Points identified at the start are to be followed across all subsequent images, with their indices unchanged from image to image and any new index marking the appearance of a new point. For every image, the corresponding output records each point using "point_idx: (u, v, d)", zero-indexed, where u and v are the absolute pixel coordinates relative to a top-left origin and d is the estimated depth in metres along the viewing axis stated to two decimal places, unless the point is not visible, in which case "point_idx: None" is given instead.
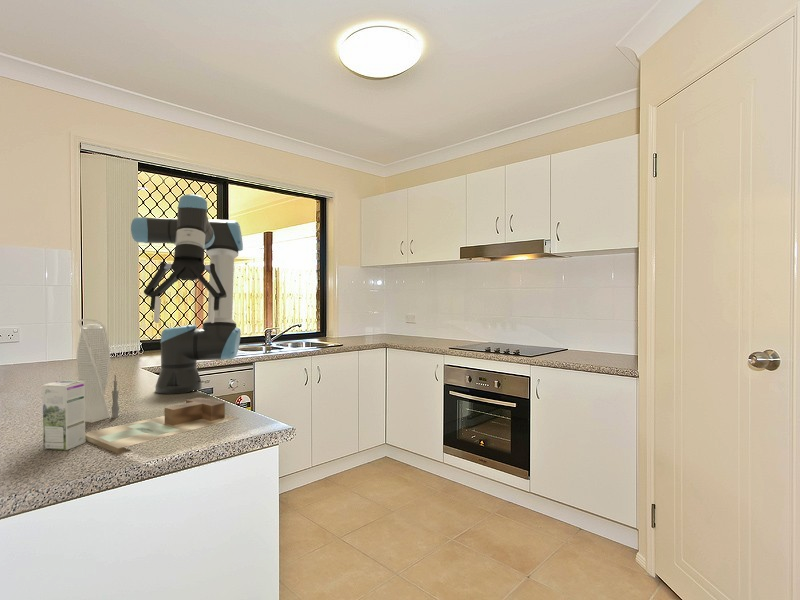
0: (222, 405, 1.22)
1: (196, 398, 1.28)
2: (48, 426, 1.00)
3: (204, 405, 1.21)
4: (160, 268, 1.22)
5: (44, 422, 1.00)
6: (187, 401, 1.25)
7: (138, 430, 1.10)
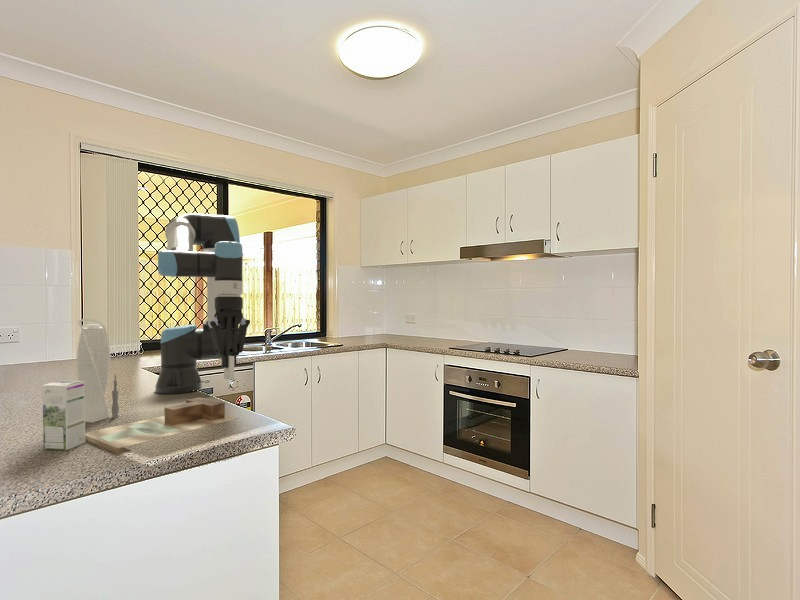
0: (222, 405, 1.22)
1: (196, 398, 1.28)
2: (48, 426, 1.00)
3: (204, 405, 1.21)
4: (215, 328, 1.25)
5: (44, 422, 1.00)
6: (187, 401, 1.25)
7: (138, 430, 1.10)
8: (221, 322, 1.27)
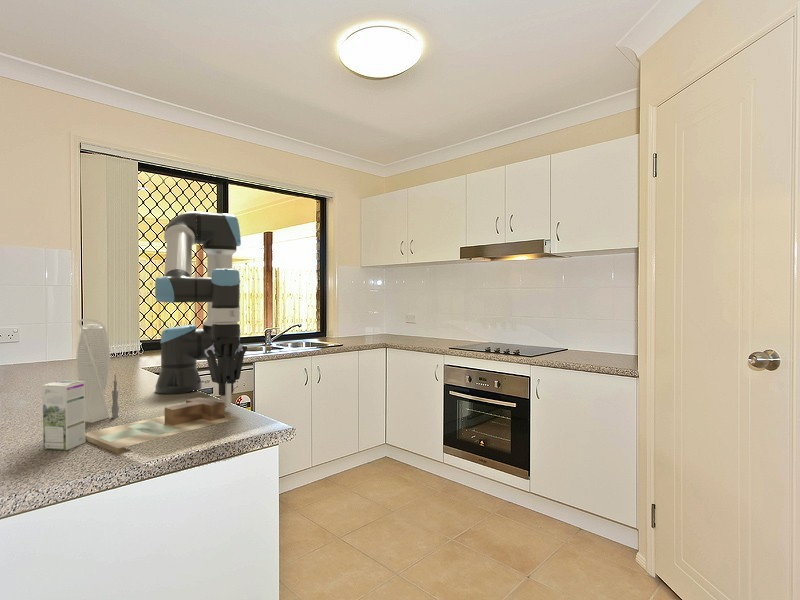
0: (222, 405, 1.22)
1: (196, 398, 1.28)
2: (48, 426, 1.00)
3: (204, 405, 1.21)
4: (212, 356, 1.24)
5: (44, 422, 1.00)
6: (187, 401, 1.25)
7: (138, 430, 1.10)
8: (218, 350, 1.26)
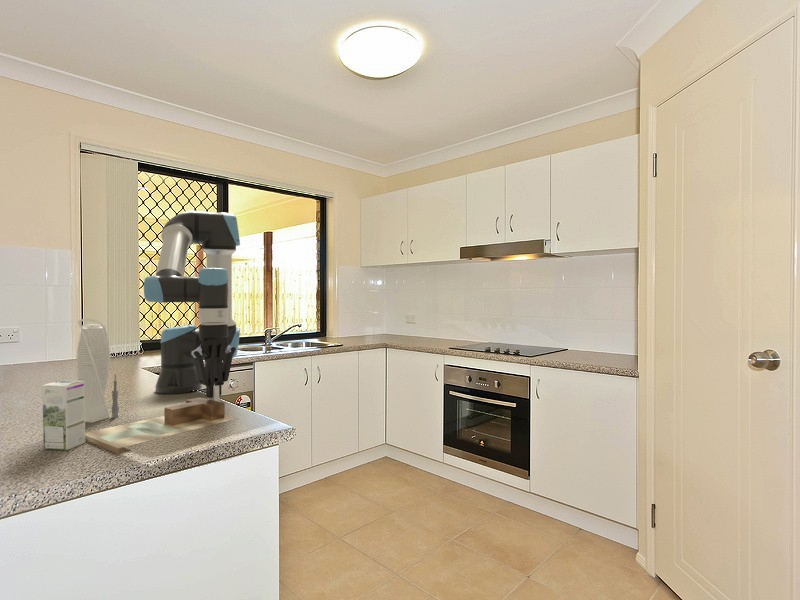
0: (222, 405, 1.22)
1: (196, 398, 1.28)
2: (48, 426, 1.00)
3: (204, 405, 1.21)
4: (199, 358, 1.21)
5: (44, 422, 1.00)
6: (187, 401, 1.25)
7: (138, 430, 1.10)
8: (205, 351, 1.23)
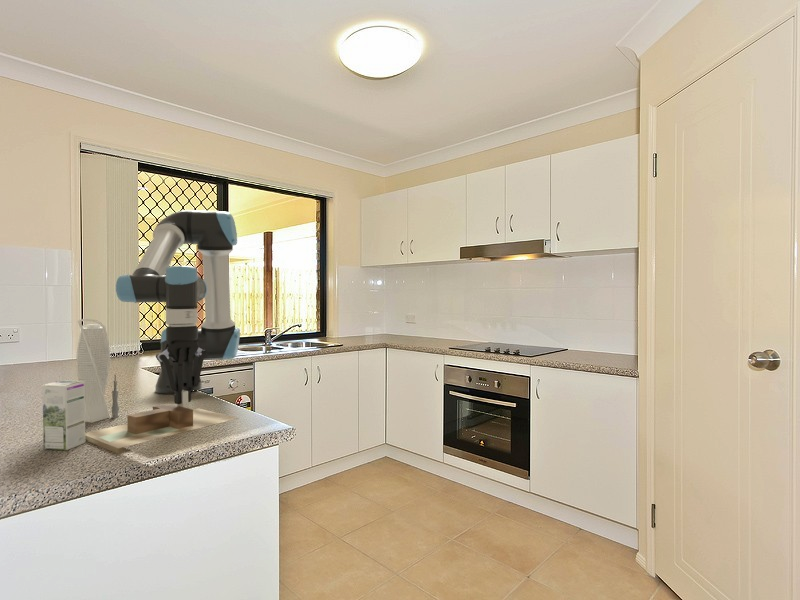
0: (190, 412, 1.14)
1: (164, 404, 1.20)
2: (48, 426, 1.00)
3: (171, 412, 1.13)
4: (165, 362, 1.14)
5: (44, 422, 1.00)
6: (154, 407, 1.18)
7: None
8: (173, 355, 1.16)
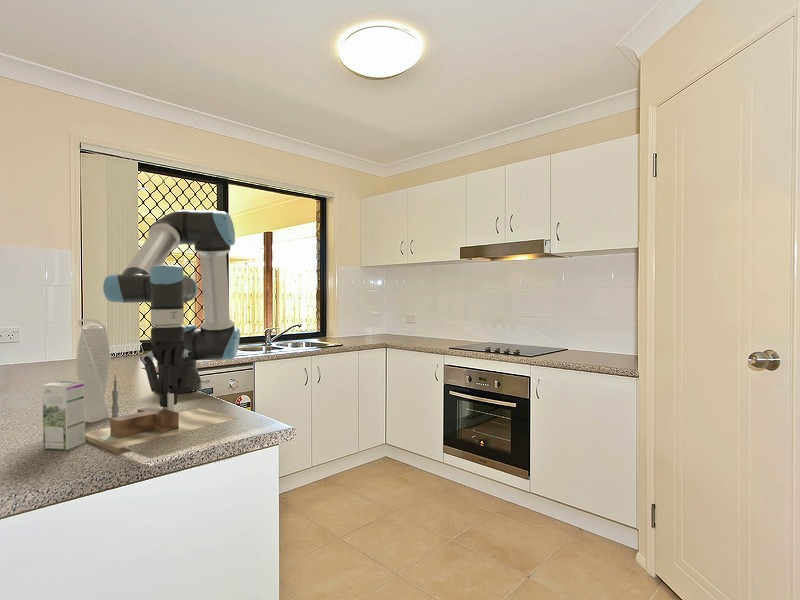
0: (175, 415, 1.11)
1: (149, 407, 1.17)
2: (48, 426, 1.00)
3: (155, 415, 1.10)
4: (149, 364, 1.11)
5: (44, 422, 1.00)
6: (139, 410, 1.15)
7: None
8: (157, 356, 1.13)
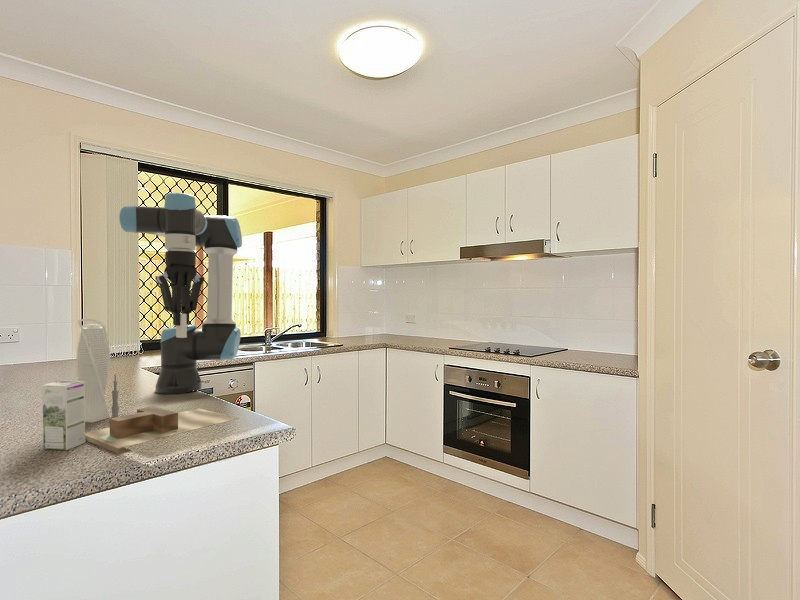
0: (175, 415, 1.11)
1: (149, 407, 1.17)
2: (48, 426, 1.00)
3: (155, 415, 1.10)
4: (164, 283, 1.19)
5: (44, 422, 1.00)
6: (138, 411, 1.15)
7: None
8: (171, 277, 1.21)
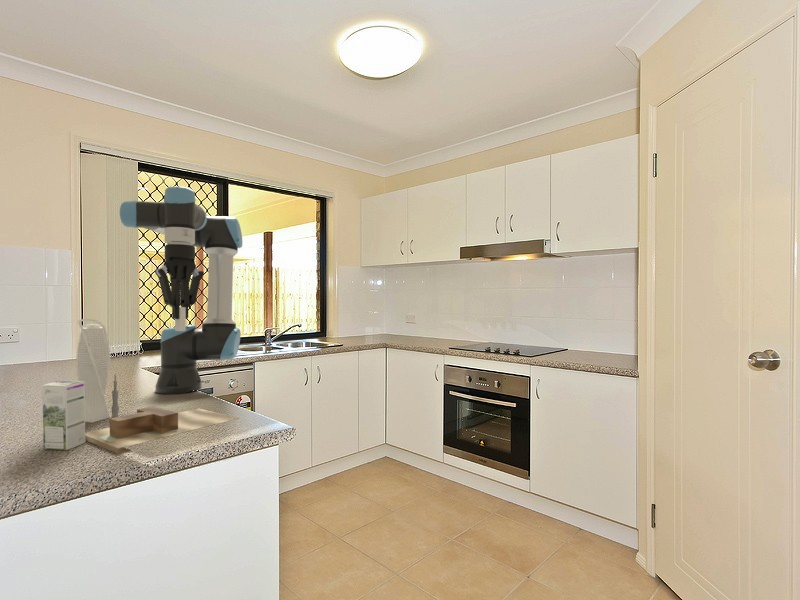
0: (175, 415, 1.11)
1: (149, 407, 1.17)
2: (48, 426, 1.00)
3: (155, 415, 1.10)
4: (163, 276, 1.20)
5: (44, 422, 1.00)
6: (138, 411, 1.15)
7: None
8: (171, 271, 1.21)
